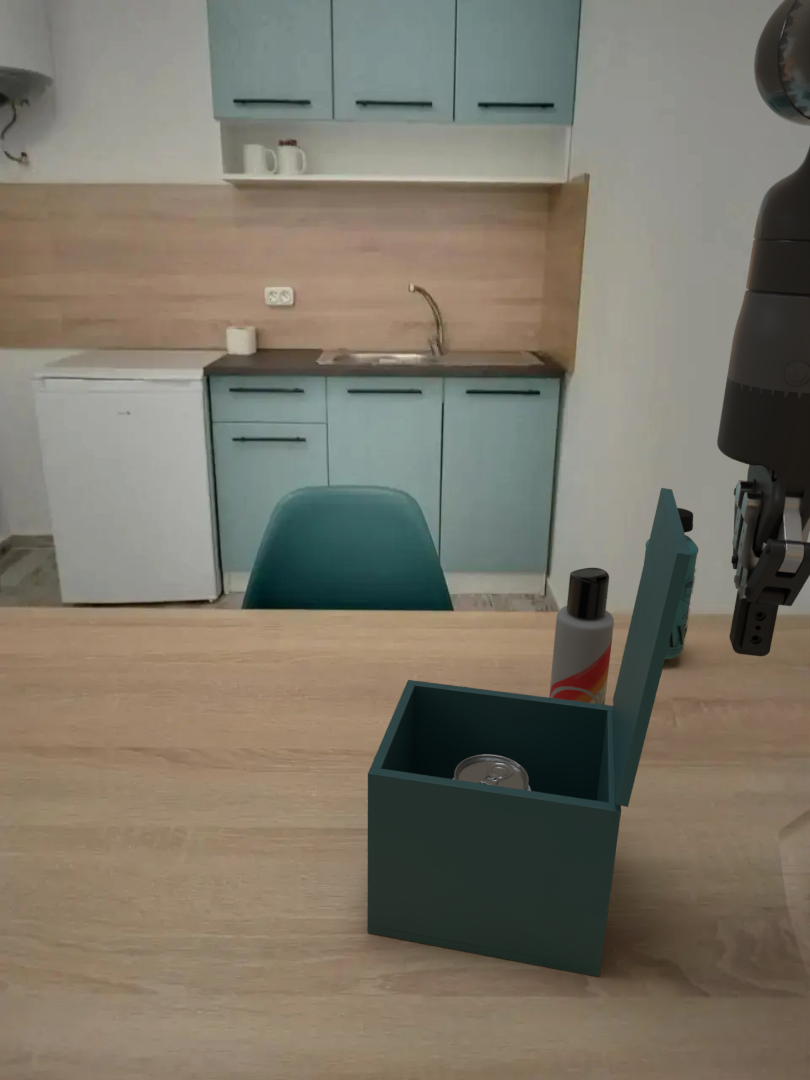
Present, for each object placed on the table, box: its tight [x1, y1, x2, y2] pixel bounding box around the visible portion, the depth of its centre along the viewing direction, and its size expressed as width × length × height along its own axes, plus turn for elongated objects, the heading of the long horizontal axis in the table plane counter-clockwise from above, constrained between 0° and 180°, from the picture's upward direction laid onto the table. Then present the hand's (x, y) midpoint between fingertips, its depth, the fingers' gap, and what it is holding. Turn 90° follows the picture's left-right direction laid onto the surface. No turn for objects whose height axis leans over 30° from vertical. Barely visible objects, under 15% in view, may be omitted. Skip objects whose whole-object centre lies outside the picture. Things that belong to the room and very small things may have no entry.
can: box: [453, 754, 531, 791], centre depth 64 cm, size 6×6×12 cm
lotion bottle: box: [548, 567, 615, 705], centre depth 85 cm, size 6×6×20 cm
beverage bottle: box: [643, 507, 699, 660], centre depth 103 cm, size 6×7×20 cm
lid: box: [612, 487, 691, 808], centre depth 58 cm, size 18×14×1 cm
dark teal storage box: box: [366, 679, 622, 978], centre depth 66 cm, size 18×14×15 cm
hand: (748, 649), depth 53 cm, fingers closed
